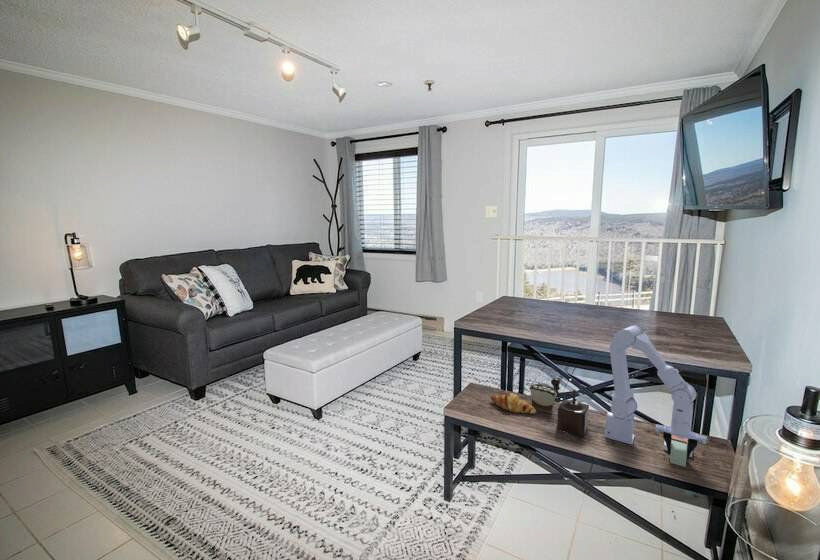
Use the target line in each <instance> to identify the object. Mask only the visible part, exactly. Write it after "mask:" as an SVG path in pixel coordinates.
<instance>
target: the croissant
mask: <svg viewBox="0 0 820 560" xmlns="http://www.w3.org/2000/svg"><path fill="white" fill-rule="evenodd" d="M490 399H491V401H492V402H493V403H495V405H496V406H497V405H498V406H497V407H499V406H500V407H499V408H501V407H502V408H503V409H502V408H501V409H502V410H505V409H506V410H505V411H508V410H509V412H511V411H512V412H511V413H518V412H519V413H520V412H521V413H520V414H530V415H532V414H536V413H537V410H536V408H534V407H533V406H532V405H531V403H529V402H528V401H527V400H526V399H523V398H520V397H519V396H518V395H517V394H516V393H513V392H507V394H501V395H497V394H496V395H492V396H490Z"/></svg>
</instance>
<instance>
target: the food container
mask: <svg viewBox="0 0 820 560" xmlns="http://www.w3.org/2000/svg"><path fill="white" fill-rule="evenodd" d="M553 388H554V386H553V385H552V386H551V385H548V384H544V383H533V384H530V386H529V389H528V390H530V402H531V403H530V405H532V406H533V407H535V409H537V410H541V411H543V410H544V412H546V411H547V412H546V413H549V412H550V413H549V414H553V412H554V405H555V399H556V398H557V395H558V394H557V393H556V390H554V389H553Z"/></svg>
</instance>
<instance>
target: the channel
mask: <svg viewBox="0 0 820 560" xmlns="http://www.w3.org/2000/svg"><path fill="white" fill-rule="evenodd" d="M663 440H664V439H663ZM671 440H673V441H677V442H681V443H685V444H688V439H686V438H684V439H681V438H678V437H677V436H674V435H672V437H671ZM663 450H664V451H667V452H668V449H667V445H666V442H665V440H664V441H663ZM689 458H693V451H692V452H691V454H690V456H689Z"/></svg>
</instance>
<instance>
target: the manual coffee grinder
mask: <svg viewBox="0 0 820 560" xmlns="http://www.w3.org/2000/svg"><path fill="white" fill-rule="evenodd" d="M550 384H551V385H552V387H553V389H554V390H556V393H557V395H560V396H567V397H568V396H569V397H570V396H572V399H571V400H569V399H563V400H562V401H561V402H560V404H559V406H558V407H557V421H556V423H557V424H556V430H557V429H558V430H557V431H559V430H561V431H560V432H562V431H565V432H564V433H566V432H568V433H567V434H569V433H570V435H573V434H574V436H578V437H582V438H583V437H584V436H585V434H587V433H586V432H587V430H588V428H589V427H588V425H589V424H588V423H589V408H590V405H589V404H586V403H583V402H580V401H577V398H576V396H577V393H576V392H577V390H576V389H573V390H572V393H568V392H567V393H565V392H564V393H563V392H559V390H561V387H560V385H561V380H560V379H559V378H552V379H551V381H550Z"/></svg>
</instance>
